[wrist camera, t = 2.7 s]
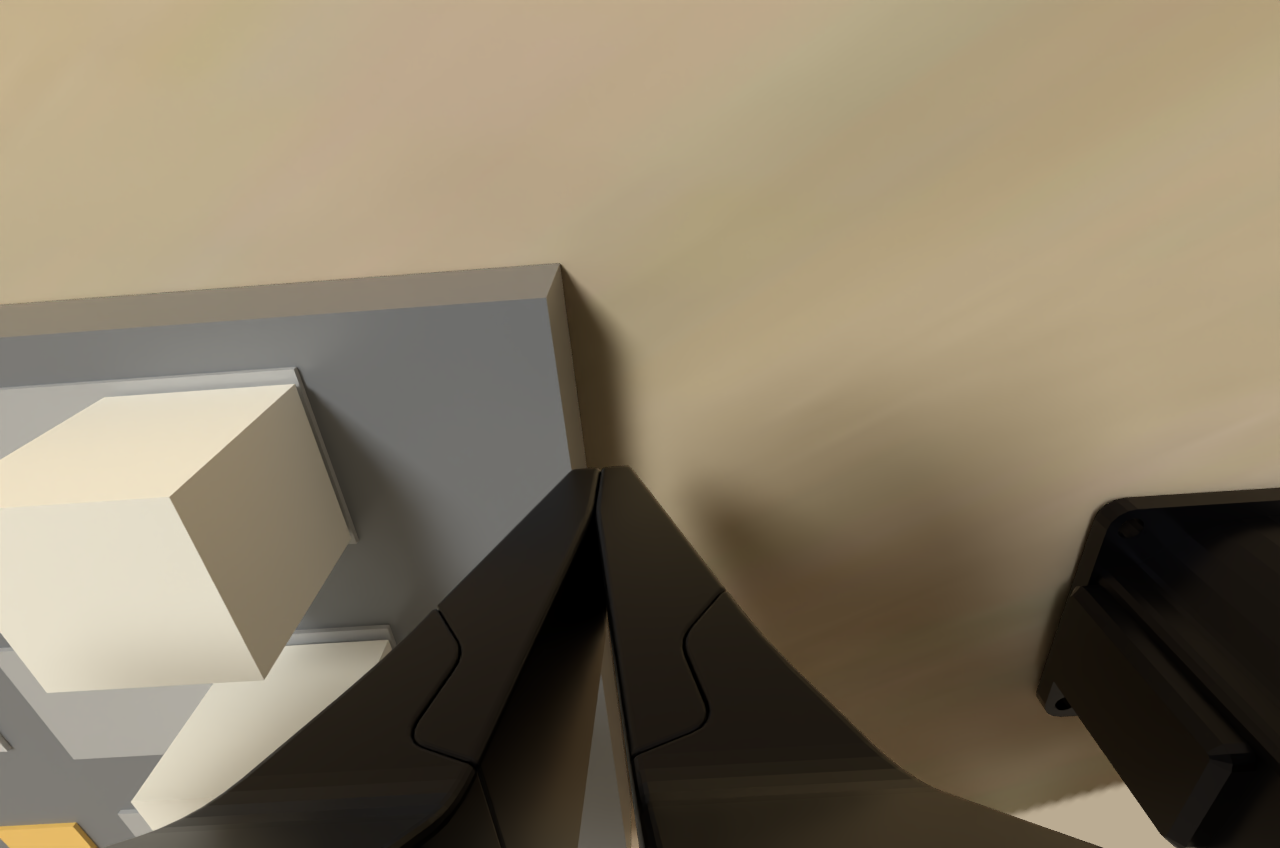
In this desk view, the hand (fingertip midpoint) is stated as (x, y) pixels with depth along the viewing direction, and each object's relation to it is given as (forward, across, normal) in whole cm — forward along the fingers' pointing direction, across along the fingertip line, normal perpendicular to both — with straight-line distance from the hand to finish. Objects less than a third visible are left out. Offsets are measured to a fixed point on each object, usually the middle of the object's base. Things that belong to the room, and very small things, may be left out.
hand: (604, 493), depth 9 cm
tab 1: (+1, +6, 0) cm, 6 cm away
